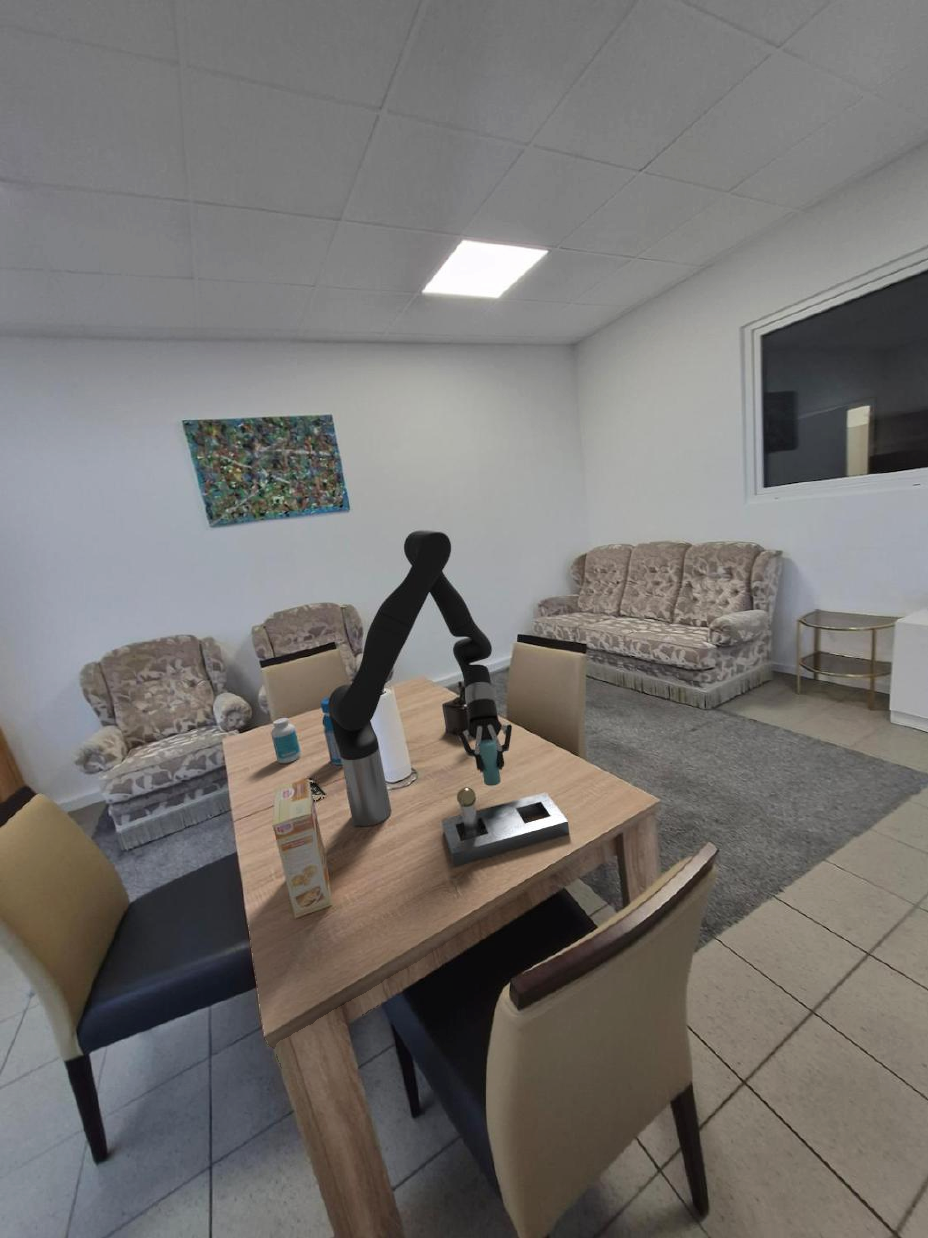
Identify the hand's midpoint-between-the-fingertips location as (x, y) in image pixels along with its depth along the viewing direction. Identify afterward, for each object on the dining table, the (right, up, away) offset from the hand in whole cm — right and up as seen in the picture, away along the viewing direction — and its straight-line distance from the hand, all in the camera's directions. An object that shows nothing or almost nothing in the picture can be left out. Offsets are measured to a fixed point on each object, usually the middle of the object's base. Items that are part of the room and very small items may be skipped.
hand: (491, 769), depth 113 cm
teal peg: (0, -4, +3) cm, 5 cm away
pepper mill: (-4, -1, +45) cm, 46 cm away
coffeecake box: (-37, -18, -17) cm, 45 cm away
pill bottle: (-64, -11, +44) cm, 79 cm away
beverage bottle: (-44, -9, +38) cm, 59 cm away
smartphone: (-51, -13, +21) cm, 56 cm away
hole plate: (+2, -11, -9) cm, 14 cm away
